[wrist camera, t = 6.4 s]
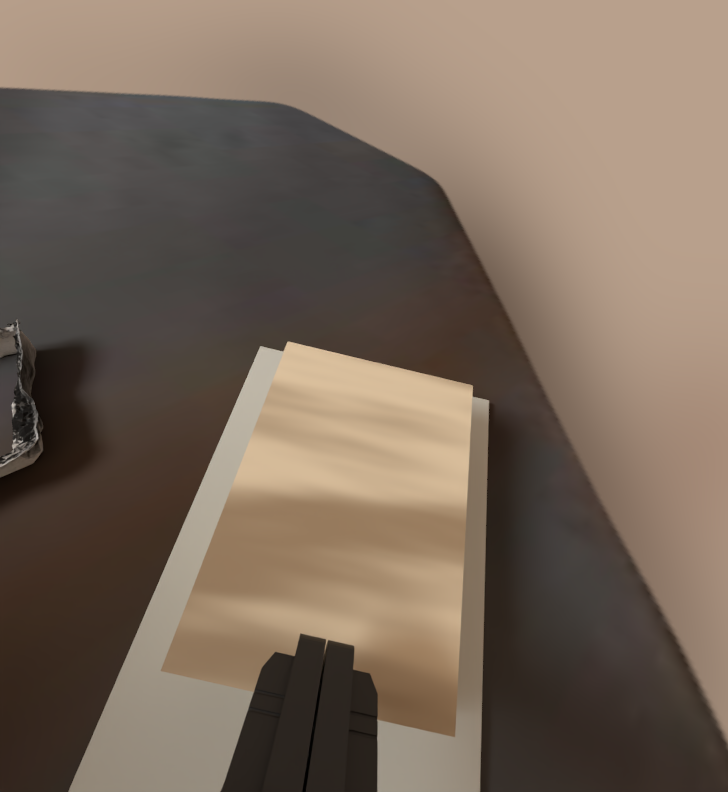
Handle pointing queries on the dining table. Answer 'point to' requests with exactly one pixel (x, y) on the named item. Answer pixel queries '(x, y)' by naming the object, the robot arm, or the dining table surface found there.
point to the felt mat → (227, 706)
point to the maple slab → (342, 535)
